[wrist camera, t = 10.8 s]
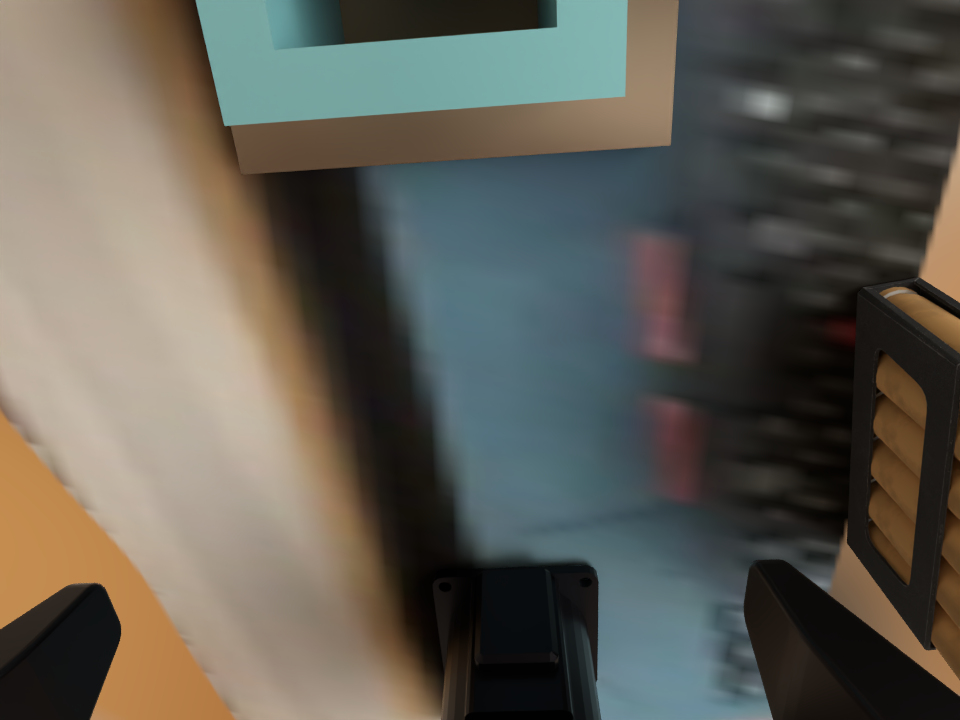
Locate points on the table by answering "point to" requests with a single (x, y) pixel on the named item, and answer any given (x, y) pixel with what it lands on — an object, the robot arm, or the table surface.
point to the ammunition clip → (909, 456)
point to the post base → (482, 130)
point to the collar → (404, 62)
